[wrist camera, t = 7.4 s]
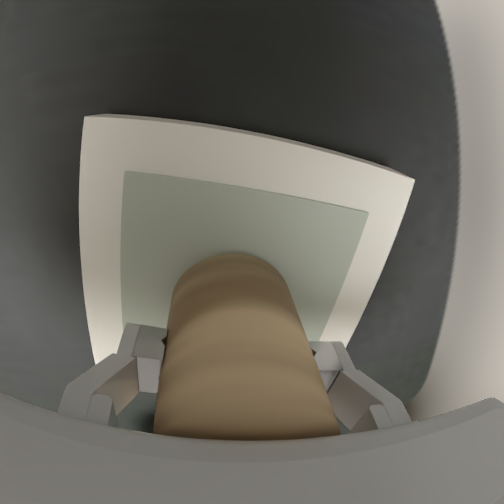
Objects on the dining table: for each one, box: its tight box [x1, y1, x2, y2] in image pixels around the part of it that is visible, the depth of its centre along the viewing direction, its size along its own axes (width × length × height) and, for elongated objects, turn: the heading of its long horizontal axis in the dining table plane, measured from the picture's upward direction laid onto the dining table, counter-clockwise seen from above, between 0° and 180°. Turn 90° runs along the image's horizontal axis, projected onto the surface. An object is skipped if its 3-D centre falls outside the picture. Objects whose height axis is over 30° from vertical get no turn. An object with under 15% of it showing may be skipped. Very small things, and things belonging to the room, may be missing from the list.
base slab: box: [79, 114, 415, 365], centre depth 15 cm, size 14×14×3 cm
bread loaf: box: [153, 254, 340, 441], centre depth 10 cm, size 5×5×7 cm
